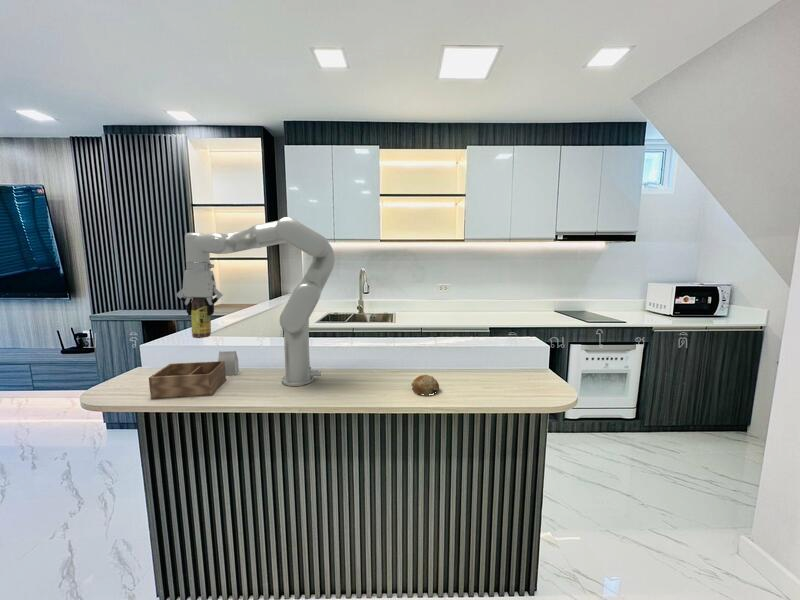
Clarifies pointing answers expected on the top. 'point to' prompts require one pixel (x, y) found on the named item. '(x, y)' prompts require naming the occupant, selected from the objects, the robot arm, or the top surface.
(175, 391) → the crate
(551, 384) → the top surface
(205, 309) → the sauce bottle
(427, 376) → the bread roll
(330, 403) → the top surface
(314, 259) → the robot arm
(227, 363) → the printed food box
